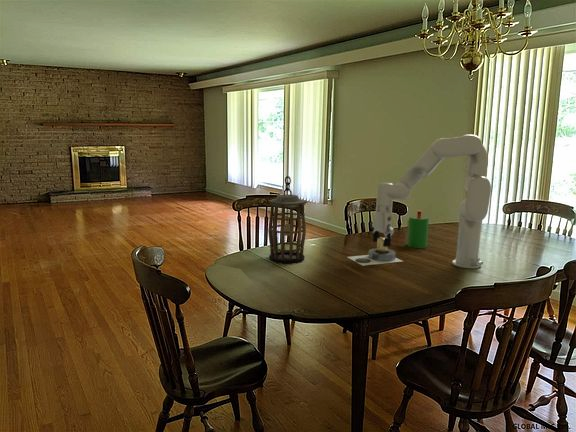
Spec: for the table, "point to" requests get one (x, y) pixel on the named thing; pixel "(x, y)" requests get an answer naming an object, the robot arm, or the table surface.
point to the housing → (382, 255)
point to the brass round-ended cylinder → (381, 245)
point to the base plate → (370, 260)
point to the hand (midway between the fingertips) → (381, 243)
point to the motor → (418, 231)
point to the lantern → (286, 228)
